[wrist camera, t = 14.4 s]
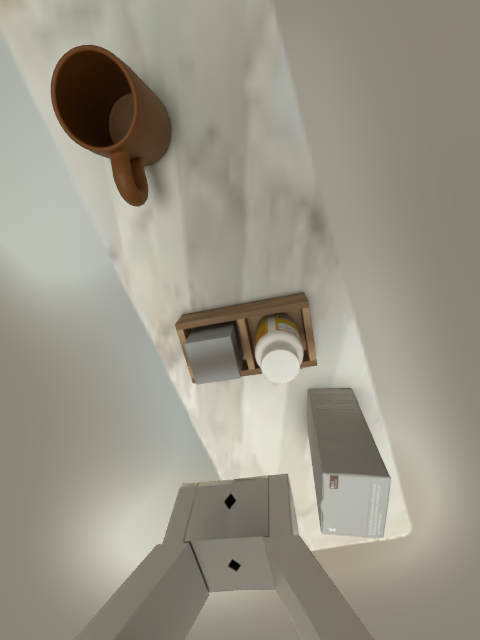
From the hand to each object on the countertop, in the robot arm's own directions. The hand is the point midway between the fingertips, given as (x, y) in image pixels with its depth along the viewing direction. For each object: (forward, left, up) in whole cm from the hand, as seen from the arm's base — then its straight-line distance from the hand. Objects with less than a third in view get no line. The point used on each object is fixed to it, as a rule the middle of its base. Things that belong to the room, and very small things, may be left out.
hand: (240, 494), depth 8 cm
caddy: (+8, -3, -31) cm, 32 cm away
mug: (-16, -10, -31) cm, 37 cm away
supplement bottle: (+8, +1, -31) cm, 32 cm away
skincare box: (+22, +6, -31) cm, 39 cm away
